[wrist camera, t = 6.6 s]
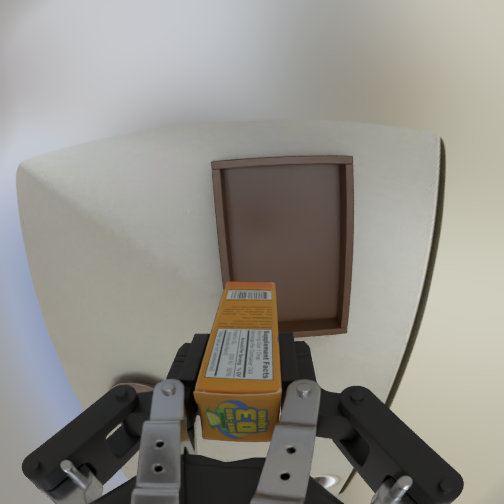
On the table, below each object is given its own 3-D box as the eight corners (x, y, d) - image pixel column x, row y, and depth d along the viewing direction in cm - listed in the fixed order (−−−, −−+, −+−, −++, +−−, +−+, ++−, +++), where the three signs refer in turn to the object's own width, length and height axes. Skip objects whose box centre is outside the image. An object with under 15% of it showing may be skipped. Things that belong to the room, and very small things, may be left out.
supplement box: (278, 324, 19) (276, 448, 10) (228, 322, 19) (193, 441, 10) (280, 279, 18) (282, 396, 9) (226, 277, 18) (180, 388, 9)
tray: (216, 161, 29) (211, 161, 26) (344, 156, 29) (352, 155, 26) (232, 326, 35) (229, 340, 32) (341, 320, 34) (346, 333, 32)
